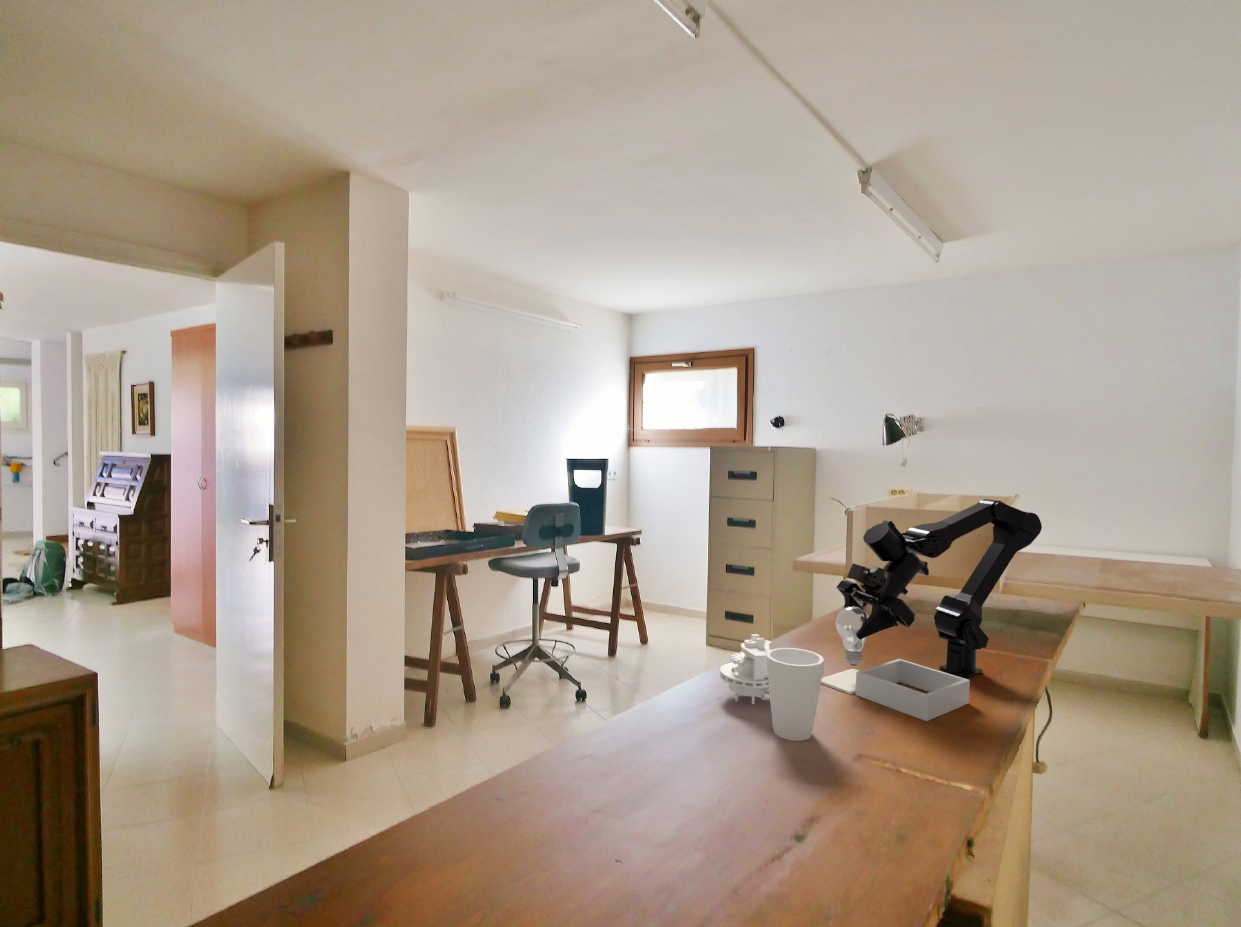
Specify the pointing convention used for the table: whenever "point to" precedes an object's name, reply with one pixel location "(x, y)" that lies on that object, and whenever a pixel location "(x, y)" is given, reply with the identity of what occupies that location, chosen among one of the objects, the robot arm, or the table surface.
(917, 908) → the table surface
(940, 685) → the grey box
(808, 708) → the foam cup
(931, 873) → the table surface
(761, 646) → the mechanical part
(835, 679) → the cream board
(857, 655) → the light bulb
